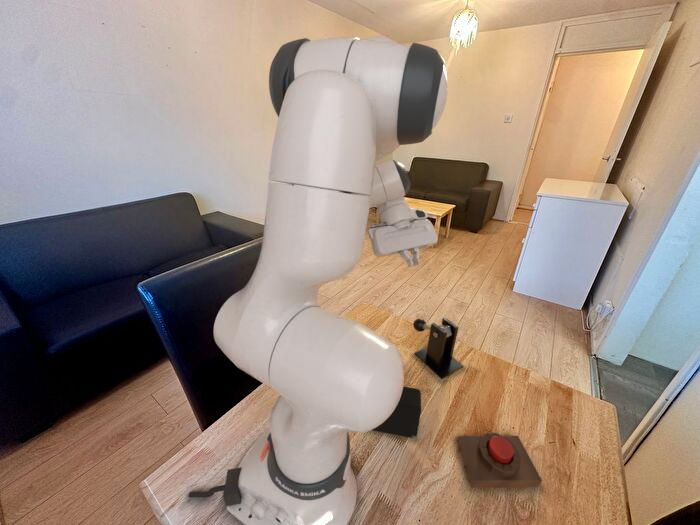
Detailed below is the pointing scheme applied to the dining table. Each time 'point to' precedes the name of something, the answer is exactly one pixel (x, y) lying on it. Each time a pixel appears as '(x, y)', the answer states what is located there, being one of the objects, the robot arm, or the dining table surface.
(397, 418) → the electronic device
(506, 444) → the button
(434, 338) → the bracket
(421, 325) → the lever
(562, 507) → the dining table surface
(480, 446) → the button block
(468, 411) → the dining table surface
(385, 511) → the dining table surface
